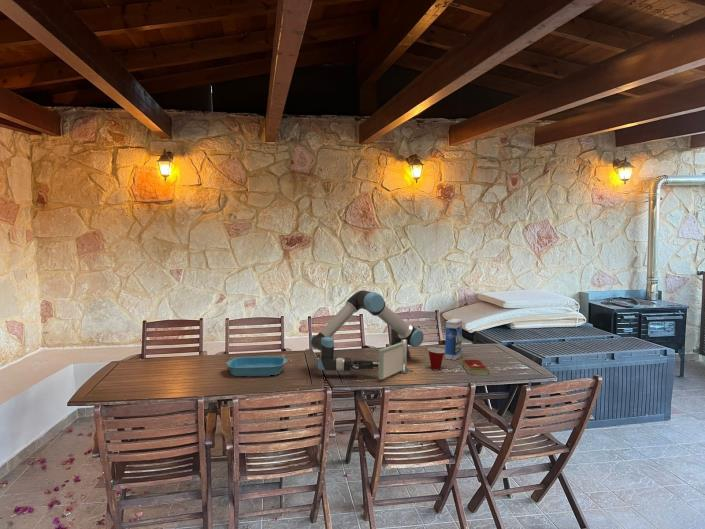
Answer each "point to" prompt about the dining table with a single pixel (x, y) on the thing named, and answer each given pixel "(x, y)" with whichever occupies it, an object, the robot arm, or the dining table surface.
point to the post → (405, 357)
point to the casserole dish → (256, 366)
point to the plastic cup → (436, 357)
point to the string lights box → (453, 339)
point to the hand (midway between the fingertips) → (383, 365)
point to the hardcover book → (474, 366)
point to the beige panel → (390, 360)
